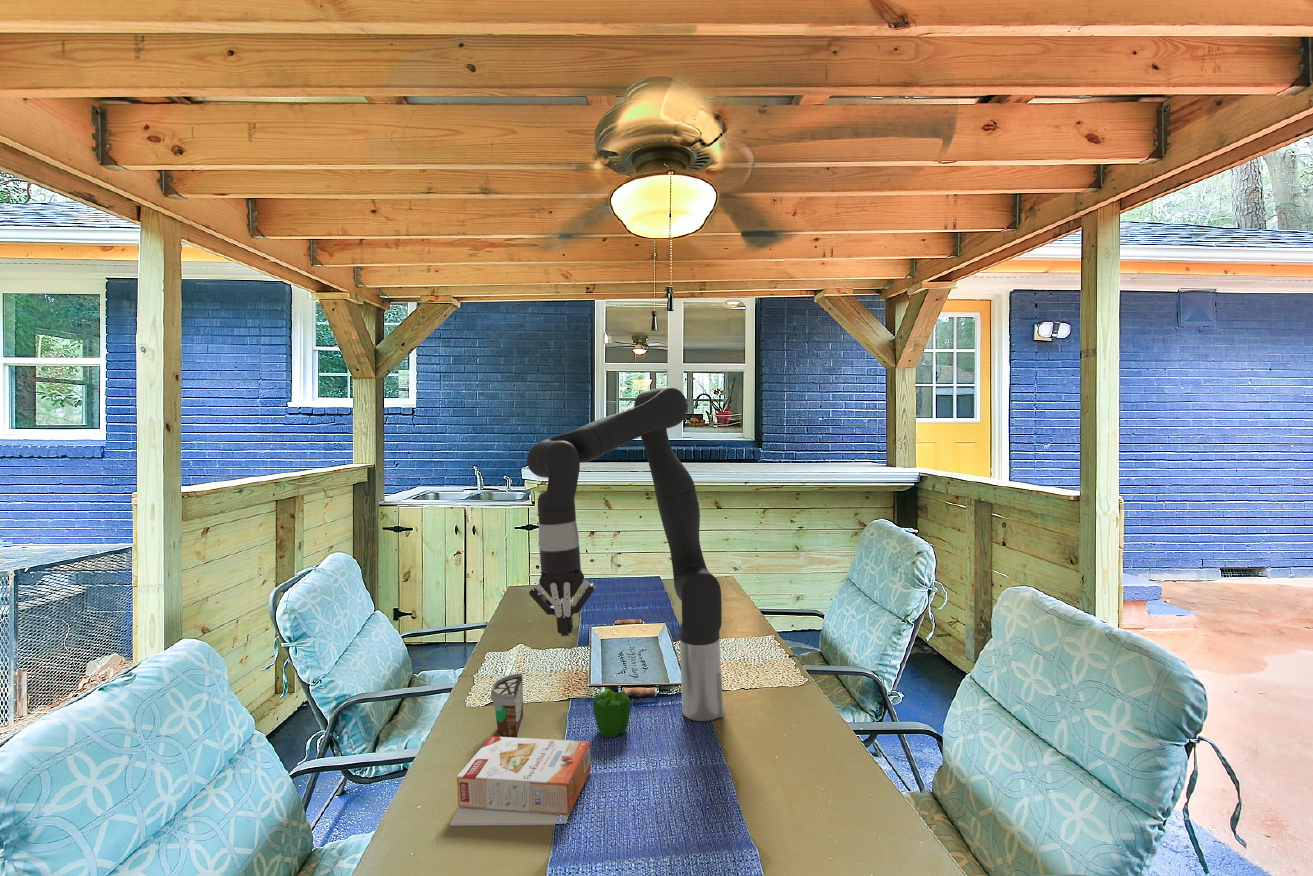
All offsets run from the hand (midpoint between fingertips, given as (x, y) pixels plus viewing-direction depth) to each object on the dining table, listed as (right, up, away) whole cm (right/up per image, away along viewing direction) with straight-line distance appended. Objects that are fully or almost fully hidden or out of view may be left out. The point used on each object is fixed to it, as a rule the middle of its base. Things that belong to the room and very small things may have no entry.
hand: (565, 634), depth 114 cm
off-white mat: (-7, -28, -4) cm, 29 cm away
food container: (-16, -28, +19) cm, 37 cm away
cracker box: (+4, -24, -5) cm, 25 cm away
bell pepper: (+8, -27, +16) cm, 32 cm away
